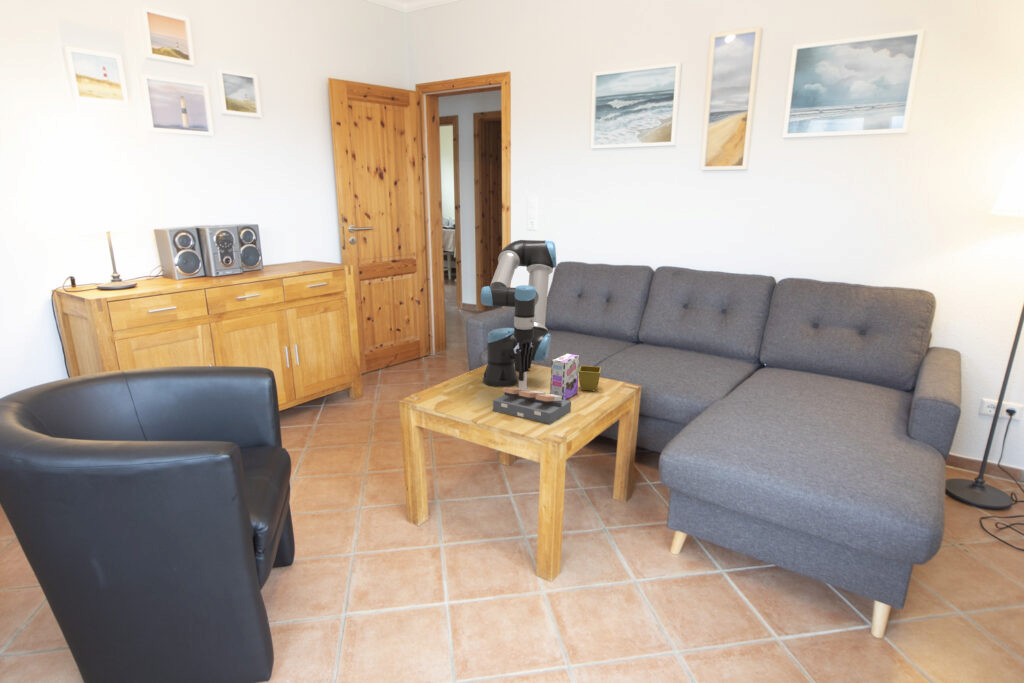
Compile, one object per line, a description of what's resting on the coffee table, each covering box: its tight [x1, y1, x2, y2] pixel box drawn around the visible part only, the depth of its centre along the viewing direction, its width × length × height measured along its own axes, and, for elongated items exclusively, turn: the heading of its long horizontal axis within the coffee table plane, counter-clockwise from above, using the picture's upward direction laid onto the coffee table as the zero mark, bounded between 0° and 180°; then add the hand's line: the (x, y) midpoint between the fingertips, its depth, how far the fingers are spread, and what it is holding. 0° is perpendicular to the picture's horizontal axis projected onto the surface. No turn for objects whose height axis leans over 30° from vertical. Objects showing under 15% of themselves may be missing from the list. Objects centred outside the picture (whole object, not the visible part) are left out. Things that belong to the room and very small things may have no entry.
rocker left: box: [502, 386, 531, 394], centre depth 209 cm, size 4×12×2 cm, turn 147°
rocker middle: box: [519, 390, 546, 398], centre depth 206 cm, size 4×12×2 cm, turn 147°
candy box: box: [549, 353, 580, 401], centre depth 222 cm, size 14×6×16 cm, turn 148°
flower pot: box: [578, 365, 602, 391], centre depth 233 cm, size 9×9×9 cm
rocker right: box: [536, 393, 562, 401], centre depth 202 cm, size 4×12×2 cm, turn 147°
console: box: [492, 392, 572, 425], centre depth 206 cm, size 24×16×6 cm
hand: (522, 388), depth 213 cm, fingers closed
